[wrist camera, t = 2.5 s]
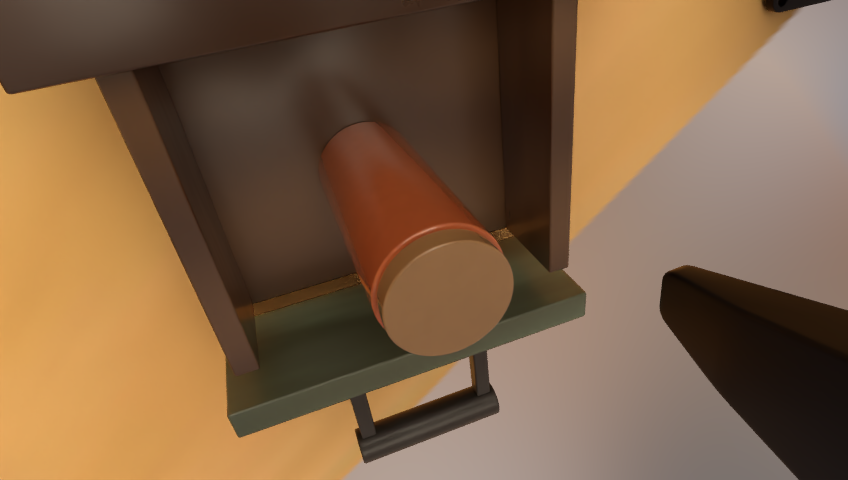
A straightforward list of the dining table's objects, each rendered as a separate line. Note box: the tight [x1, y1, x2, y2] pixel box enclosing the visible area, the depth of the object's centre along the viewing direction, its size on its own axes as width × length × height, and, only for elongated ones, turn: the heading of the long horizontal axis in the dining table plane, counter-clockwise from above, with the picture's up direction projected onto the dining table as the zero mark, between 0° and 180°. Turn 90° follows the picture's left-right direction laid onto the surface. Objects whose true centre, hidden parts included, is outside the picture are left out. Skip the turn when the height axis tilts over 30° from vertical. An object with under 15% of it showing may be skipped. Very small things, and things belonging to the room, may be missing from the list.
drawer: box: [95, 0, 586, 463], centre depth 19 cm, size 18×13×5 cm
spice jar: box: [318, 122, 514, 356], centre depth 15 cm, size 3×3×8 cm
